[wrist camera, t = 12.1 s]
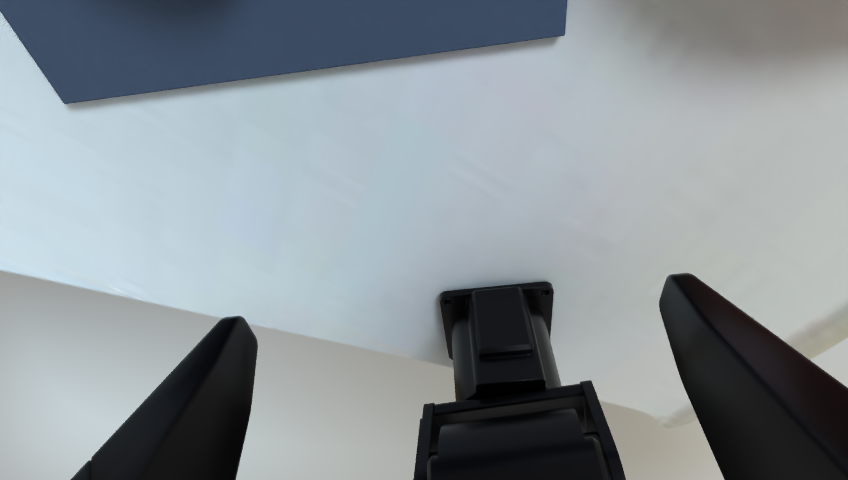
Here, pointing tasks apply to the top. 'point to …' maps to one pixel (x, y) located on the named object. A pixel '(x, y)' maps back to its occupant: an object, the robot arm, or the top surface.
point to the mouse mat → (251, 37)
